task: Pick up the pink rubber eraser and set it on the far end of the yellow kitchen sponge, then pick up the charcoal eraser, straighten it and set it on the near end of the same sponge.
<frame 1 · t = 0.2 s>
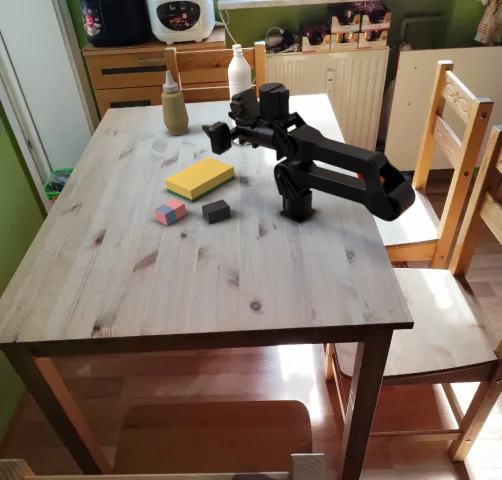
hand: (215, 120, 113), 17 cm above the table, tool horizontal, fingers open, 9 cm apart
sponge: (201, 184, 126), on the table
grey eraser: (216, 216, 114), on the table
water bottle: (243, 140, 145), on the table
squeeze bottle: (178, 132, 152), on the table
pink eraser: (171, 217, 115), on the table
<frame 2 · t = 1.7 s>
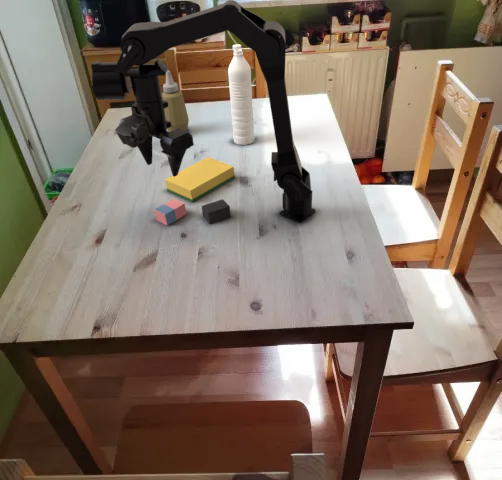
hand: (162, 170, 106), 12 cm above the table, tool pointing down, fingers open, 9 cm apart
nothing on the table moved.
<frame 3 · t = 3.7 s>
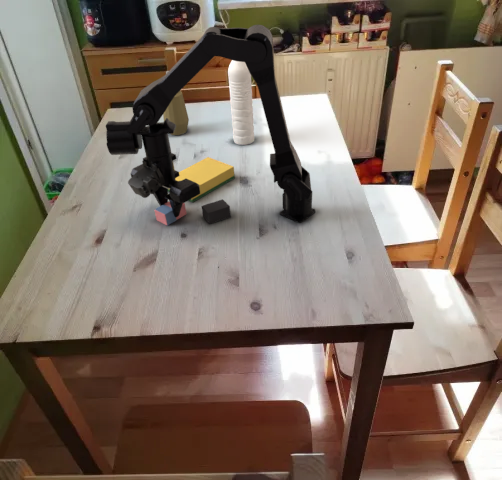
hand: (171, 213, 114), 1 cm above the table, tool pointing down, fingers closed on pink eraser, 4 cm apart
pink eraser: (171, 217, 115), on the table, touching gripper
everything else where it was.
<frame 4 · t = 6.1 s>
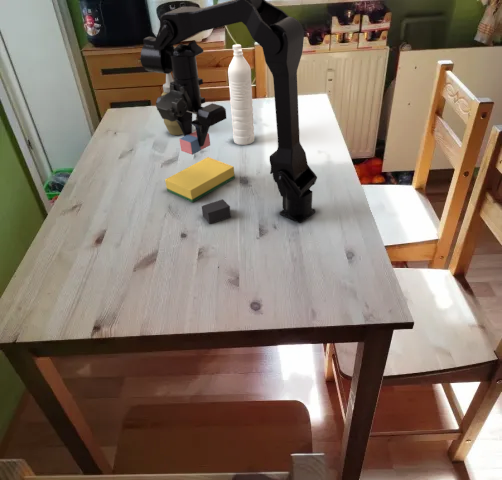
hand: (195, 144, 116), 12 cm above the table, tool pointing down, fingers closed on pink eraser, 4 cm apart
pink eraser: (195, 148, 116), point 11 cm above the table, touching gripper
everything else where it was.
when the fingers open (4 cm above the table, at t = 8.7 s): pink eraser stays where it is, resting on sponge.
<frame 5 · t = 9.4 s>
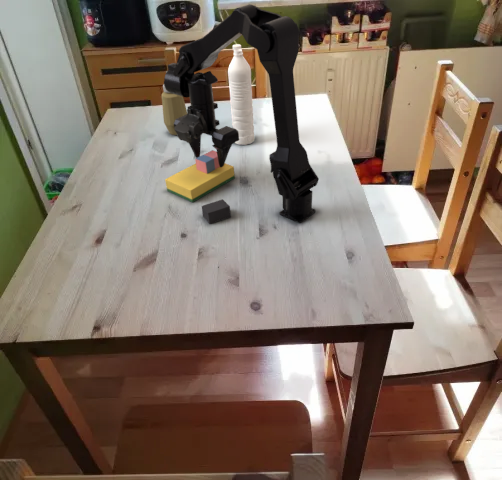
hand: (209, 162, 124), 5 cm above the table, tool pointing down, fingers open, 9 cm apart
sponge: (201, 184, 126), on the table, touching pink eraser
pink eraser: (210, 167, 125), point 3 cm above the table, touching sponge
everything else where it was.
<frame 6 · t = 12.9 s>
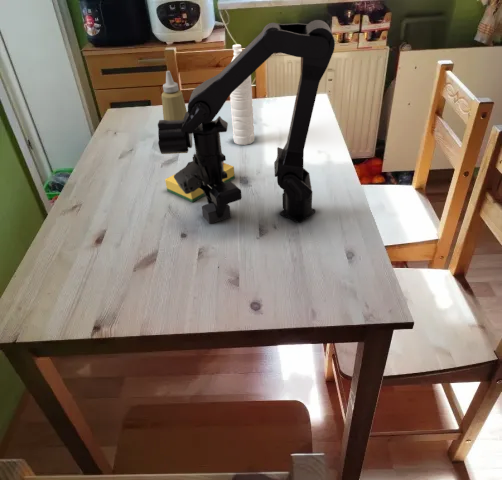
hand: (216, 213, 113), 1 cm above the table, tool pointing down, fingers closed on grey eraser, 4 cm apart
grey eraser: (216, 216, 114), on the table, touching gripper
everything else where it was.
when the fingers open (4 cm above the table, at t = 17.7 s): grey eraser stays where it is, resting on sponge.
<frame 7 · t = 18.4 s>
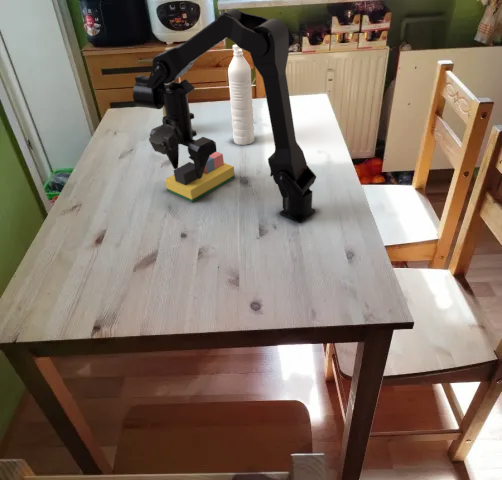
hand: (187, 173, 120), 5 cm above the table, tool pointing down, fingers open, 9 cm apart
sponge: (201, 184, 126), on the table, touching grey eraser, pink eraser
grey eraser: (188, 178, 121), point 3 cm above the table, touching sponge
everything else where it was.
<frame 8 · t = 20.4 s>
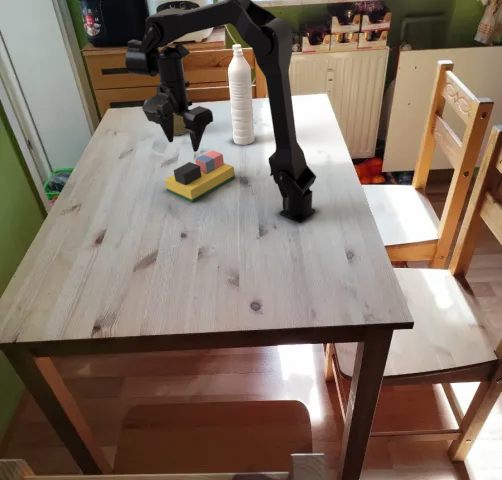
hand: (183, 146, 115), 12 cm above the table, tool pointing down, fingers open, 9 cm apart
nothing on the table moved.
at the end: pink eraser inside the target area on the sponge (4.0 cm from its centre), point 3.4 cm above the sponge's base; grey eraser inside the target area on the sponge (4.1 cm from its centre), point 3.4 cm above the sponge's base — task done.
